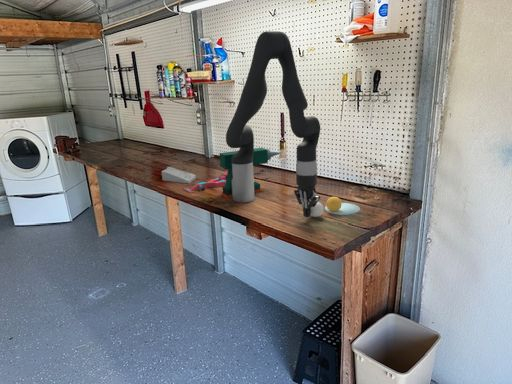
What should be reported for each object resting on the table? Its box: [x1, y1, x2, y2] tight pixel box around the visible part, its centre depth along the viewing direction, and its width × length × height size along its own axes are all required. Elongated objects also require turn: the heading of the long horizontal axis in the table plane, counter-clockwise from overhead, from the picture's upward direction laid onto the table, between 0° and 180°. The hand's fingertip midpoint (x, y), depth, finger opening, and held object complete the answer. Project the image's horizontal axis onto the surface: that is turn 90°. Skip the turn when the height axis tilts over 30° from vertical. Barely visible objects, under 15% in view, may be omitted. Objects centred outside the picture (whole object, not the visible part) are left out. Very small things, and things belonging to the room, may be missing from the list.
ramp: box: [161, 166, 197, 184], centre depth 213 cm, size 28×16×5 cm, turn 38°
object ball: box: [325, 196, 343, 212], centre depth 150 cm, size 6×6×6 cm
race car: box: [182, 170, 228, 194], centre depth 194 cm, size 14×6×25 cm
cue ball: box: [310, 201, 325, 218], centre depth 146 cm, size 6×6×6 cm
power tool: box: [218, 147, 281, 199], centre depth 181 cm, size 32×7×20 cm, turn 115°
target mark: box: [324, 202, 361, 216], centre depth 153 cm, size 14×14×1 cm
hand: (306, 216), depth 143 cm, fingers closed
